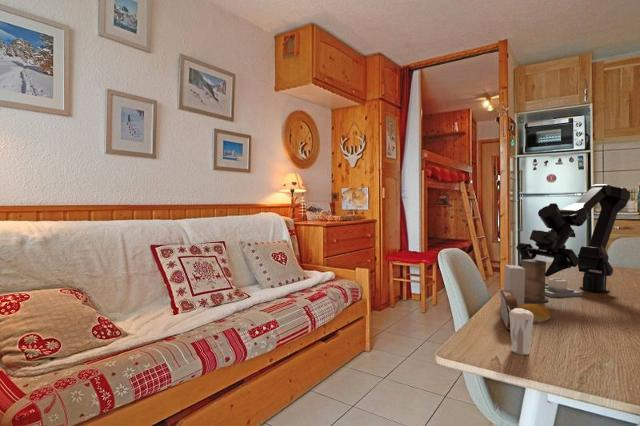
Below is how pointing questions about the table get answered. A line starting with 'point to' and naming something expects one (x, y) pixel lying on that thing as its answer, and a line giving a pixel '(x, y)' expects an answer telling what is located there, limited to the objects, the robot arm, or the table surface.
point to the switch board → (561, 292)
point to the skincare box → (515, 281)
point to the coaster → (536, 300)
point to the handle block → (534, 278)
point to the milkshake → (520, 330)
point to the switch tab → (557, 283)
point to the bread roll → (537, 312)
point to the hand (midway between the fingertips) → (532, 273)
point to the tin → (506, 301)
